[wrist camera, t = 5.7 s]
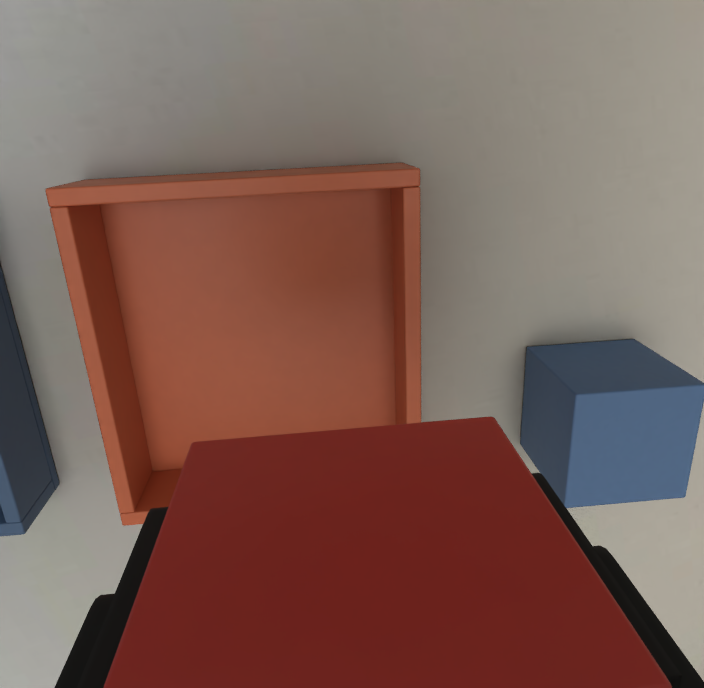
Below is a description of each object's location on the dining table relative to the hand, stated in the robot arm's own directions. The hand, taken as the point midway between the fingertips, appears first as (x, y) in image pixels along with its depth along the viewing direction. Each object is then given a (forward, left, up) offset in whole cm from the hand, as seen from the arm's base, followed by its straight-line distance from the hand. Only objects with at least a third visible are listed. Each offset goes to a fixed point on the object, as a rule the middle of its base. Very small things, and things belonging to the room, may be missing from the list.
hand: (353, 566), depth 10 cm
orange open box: (+1, -3, -15) cm, 15 cm away
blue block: (+5, +11, -15) cm, 20 cm away
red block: (0, 0, 0) cm, 0 cm away
